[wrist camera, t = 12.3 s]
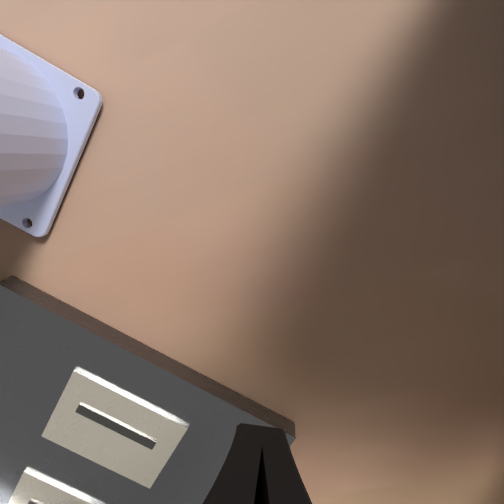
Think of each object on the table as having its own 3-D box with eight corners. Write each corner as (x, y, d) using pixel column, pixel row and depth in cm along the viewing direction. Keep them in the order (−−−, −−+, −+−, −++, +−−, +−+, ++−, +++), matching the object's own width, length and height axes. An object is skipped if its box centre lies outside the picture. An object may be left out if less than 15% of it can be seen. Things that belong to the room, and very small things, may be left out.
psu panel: (-88, 523, 25) (-110, 546, 23) (12, 275, 20) (-8, 285, 18) (144, 627, 26) (137, 654, 25) (294, 422, 21) (295, 442, 20)
